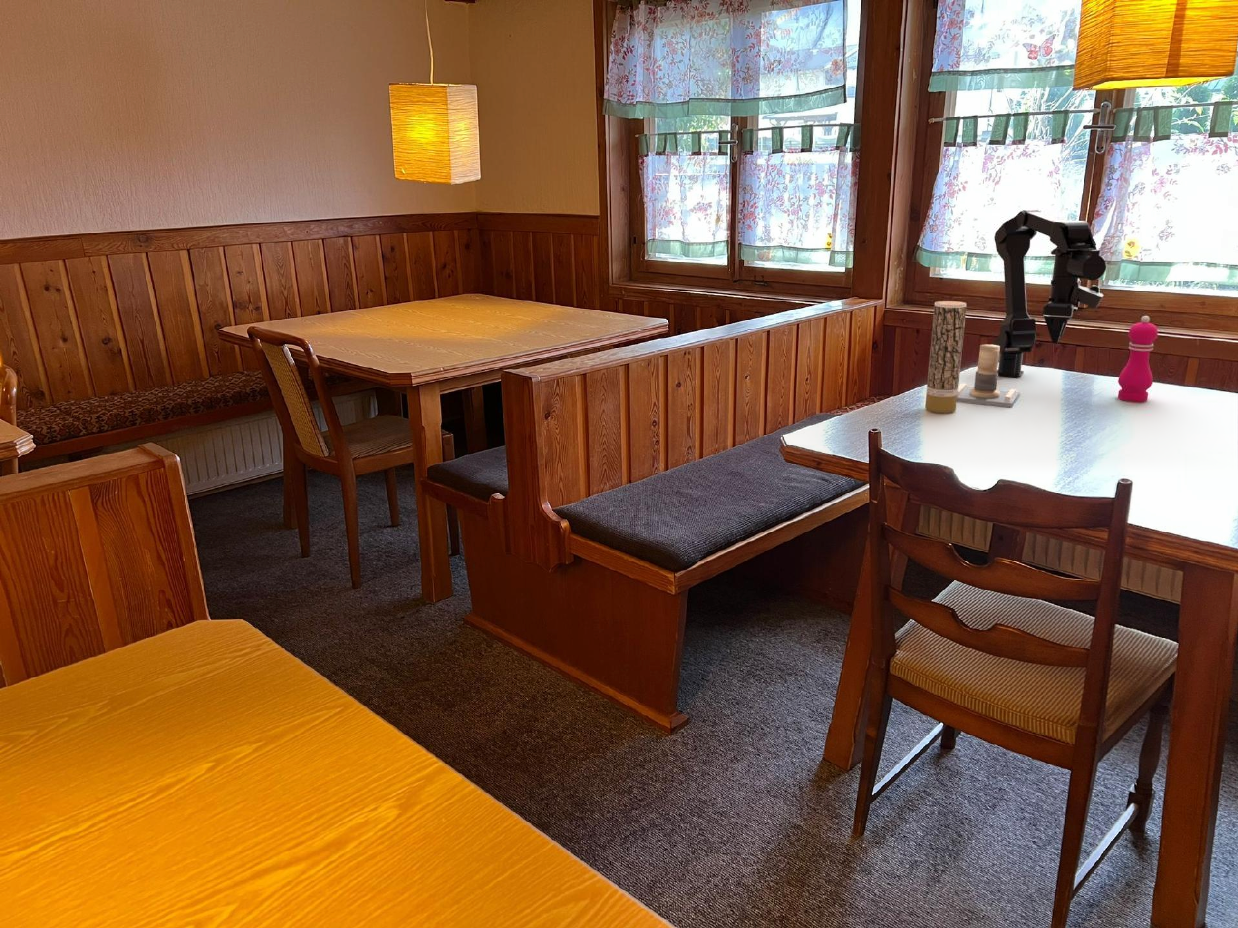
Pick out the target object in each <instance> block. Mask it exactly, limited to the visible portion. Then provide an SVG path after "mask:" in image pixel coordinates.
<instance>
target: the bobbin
mask: <svg viewBox="0 0 1238 928" xmlns="http://www.w3.org/2000/svg"><path fill="white" fill-rule="evenodd" d="M999 351H1000V346H998V345H992V344H980V345H979V354H978V362H977V370H976V371H975V377H974V378H975V379H974V388H973V389H970V395H971V396H974V397H978V398H998V397H999V396H1000V391H998V390H999V389H997V387H998V377H999V375H998V373H997V370H998V365H999V357H1000V353H999Z"/></svg>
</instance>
